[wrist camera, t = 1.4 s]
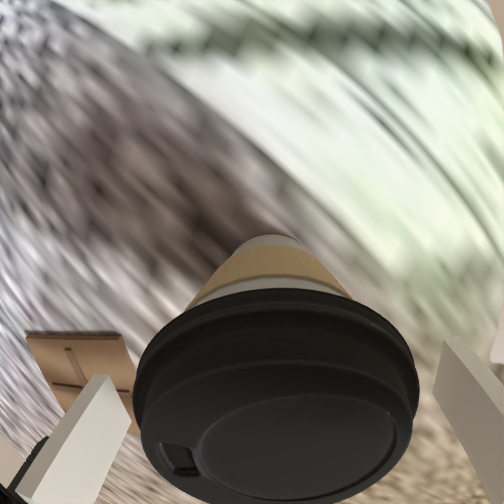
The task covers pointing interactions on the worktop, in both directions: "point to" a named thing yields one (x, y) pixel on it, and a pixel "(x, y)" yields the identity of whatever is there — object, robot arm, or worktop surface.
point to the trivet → (84, 366)
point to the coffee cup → (275, 385)
